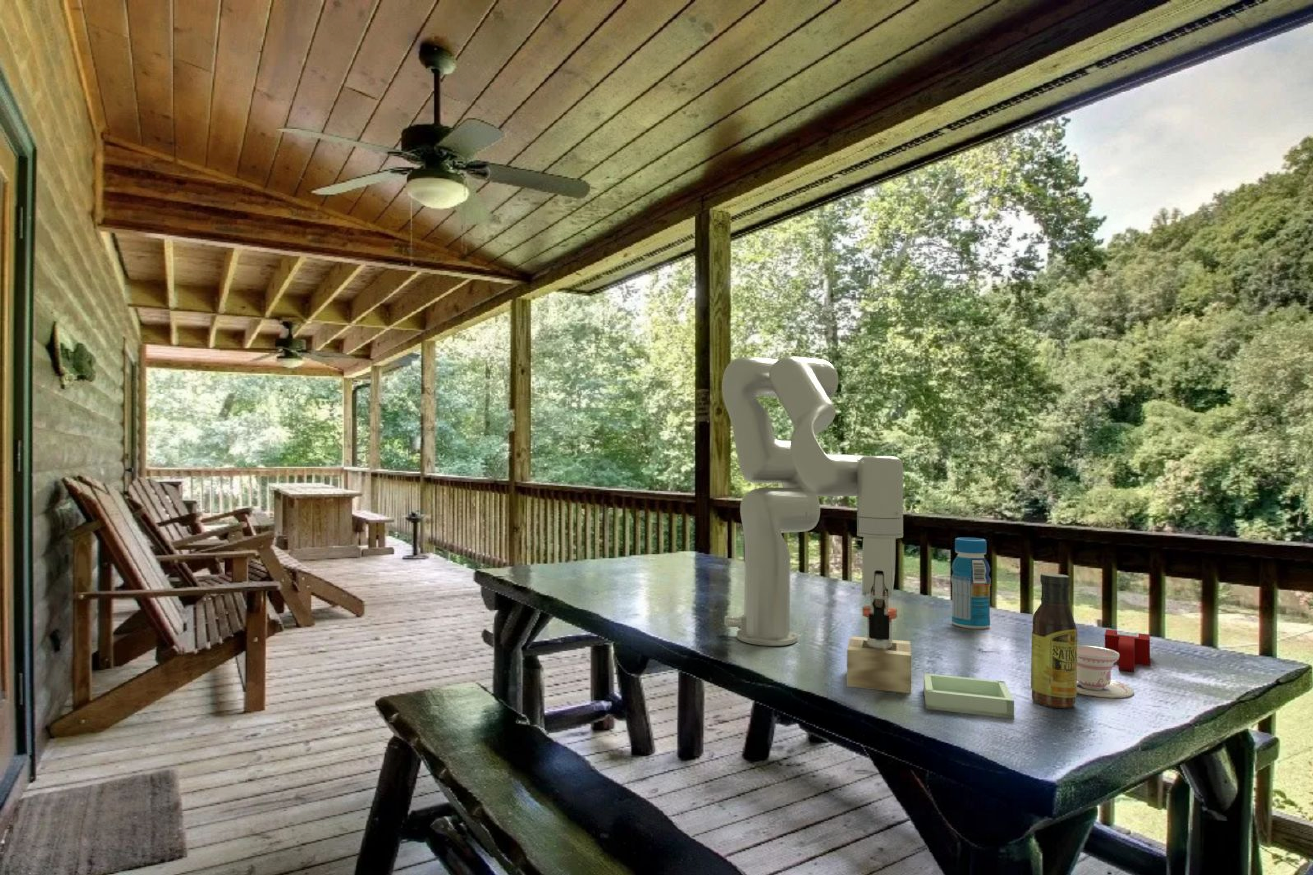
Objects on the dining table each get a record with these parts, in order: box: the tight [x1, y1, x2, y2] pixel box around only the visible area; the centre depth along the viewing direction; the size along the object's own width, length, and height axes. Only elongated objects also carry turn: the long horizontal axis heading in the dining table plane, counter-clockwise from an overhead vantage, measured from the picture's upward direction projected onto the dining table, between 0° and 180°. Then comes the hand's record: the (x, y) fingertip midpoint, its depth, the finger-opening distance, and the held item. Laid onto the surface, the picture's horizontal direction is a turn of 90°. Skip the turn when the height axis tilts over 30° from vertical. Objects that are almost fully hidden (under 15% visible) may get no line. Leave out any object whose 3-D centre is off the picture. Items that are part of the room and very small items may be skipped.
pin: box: [862, 605, 898, 650], centre depth 122 cm, size 6×6×12 cm
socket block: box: [846, 636, 912, 694], centre depth 121 cm, size 10×10×6 cm
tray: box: [923, 673, 1015, 720], centre depth 111 cm, size 12×10×3 cm
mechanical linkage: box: [1104, 628, 1151, 673], centre depth 135 cm, size 16×7×5 cm, turn 145°
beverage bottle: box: [950, 537, 992, 630], centre depth 166 cm, size 8×8×20 cm
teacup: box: [1077, 644, 1135, 699], centre depth 120 cm, size 12×12×6 cm
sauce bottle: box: [1030, 572, 1078, 709], centre depth 111 cm, size 7×6×20 cm
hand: (879, 633), depth 122 cm, fingers closed on pin, 5 cm apart
